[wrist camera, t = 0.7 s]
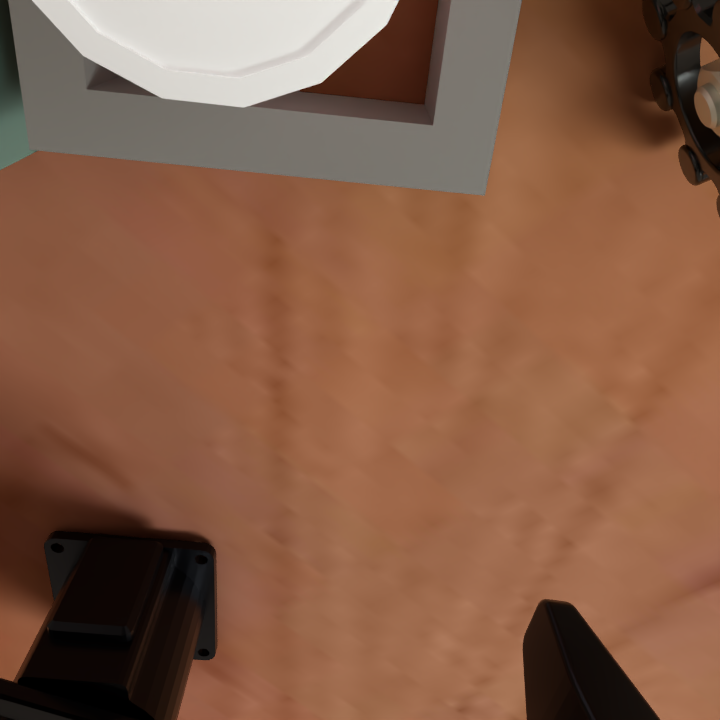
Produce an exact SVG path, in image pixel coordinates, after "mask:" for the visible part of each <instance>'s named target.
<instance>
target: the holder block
mask: <svg viewBox="0 0 720 720" xmlns="http://www.w3.org/2000/svg"><path fill="white" fill-rule="evenodd" d="M8 2H9V9H10V16H11V23H12V30H13V37H14V44H15V51H16V58H17V65H18V72H19V79H20V86H21V93H22V100H23V107H24V114H25V121H26V129H27V136H28V143H29V150H38V151H48V152H58V153H68V154H78V155H88V156H98V157H108V158H118V159H128V160H138V161H147V162H157V163H167V164H177V165H187V166H197V167H207V168H217V169H227V170H237V171H247V172H257V173H266V174H276V175H286V176H296V177H306V178H316V179H326V180H336V181H346V182H356V183H366V184H376V185H385V186H395V187H405V188H415V189H425V190H435V191H445V192H455V193H465V194H475V195H485V192H486V186H487V181H488V176H489V171H490V165H491V160H492V155H493V150H494V144H495V139H496V134H497V128H498V123H499V118H500V113H501V107H502V102H503V97H504V92H505V86H506V81H507V76H508V71H509V65H510V60H511V55H512V50H513V44H514V39H515V34H516V28H517V23H518V18H519V13H520V7H521V2H522V0H439V1H438V9H437V16H436V23H435V31H434V38H433V45H432V53H431V60H430V67H429V75H428V82H427V89H426V97H425V104H424V105H423V104H413V103H404V102H394V101H385V100H375V99H366V98H356V97H347V96H337V95H328V94H318V93H309V92H299V91H294V92H291V93H288V94H285V95H282V96H279V97H276V98H273V99H269V100H266V101H263V102H260V103H257V104H254V105H251V106H247V107H244V108H243V107H234V106H225V105H216V104H207V103H198V102H190V101H181V100H172V99H163V98H160V97H159V96H157V95H155V94H153V93H151V92H149V91H147V90H146V89H144V88H142V87H140V86H138V85H136V84H134V83H133V82H131V81H129V80H127V79H125V78H123V77H121V76H120V75H118V74H116V73H114V72H112V71H110V70H108V69H107V68H105V67H103V66H101V65H99V64H97V63H95V62H94V61H92V60H90V59H88V58H86V57H84V56H83V55H82V54H81V53H80V52H79V51H78V50H77V49H76V48H75V47H74V46H73V44H72V43H71V42H70V41H69V40H68V39H67V38H66V37H65V36H64V35H63V34H62V33H61V31H60V30H59V29H58V28H57V27H56V26H55V25H54V24H53V23H52V22H51V21H50V19H49V18H48V17H47V16H46V15H45V14H44V13H43V12H42V11H41V10H40V9H39V8H38V6H37V5H36V4H35V3H34V2H33V1H32V0H8Z"/></svg>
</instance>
